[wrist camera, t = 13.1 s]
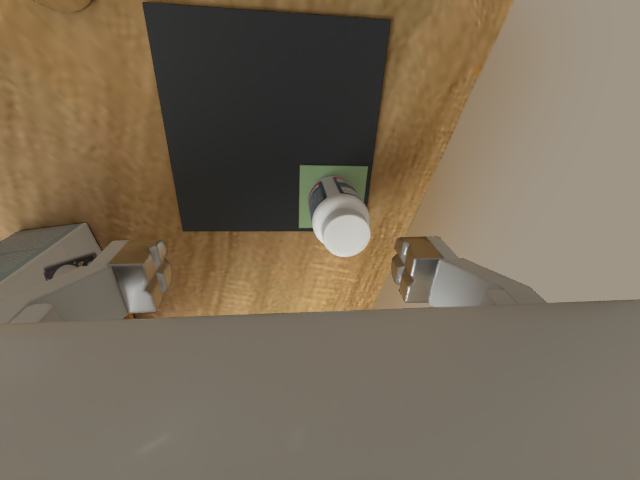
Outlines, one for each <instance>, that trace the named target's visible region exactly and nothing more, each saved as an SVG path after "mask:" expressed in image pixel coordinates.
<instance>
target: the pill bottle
mask: <svg viewBox="0 0 640 480" xmlns="http://www.w3.org/2000/svg"><path fill="white" fill-rule="evenodd" d="M308 207H309V212H310V217H311V222H312V227H313V230H314V233H315V235H316V237H317V238H318V239H319V240H320V241H321V242H322V243H323V244H325V246H326V248H327V249H328V250H329V251H330V252H331V253H332V254H334V255H337V256H340V257H349V256H353V255H356V254H358V253H360V252H361V251H362V250H363V249H364V248H365V247H366V246H367V244H368V243H369V240H370V236H371V231H370V227H369V222H370V217H369V212H368V210H367V207H366V205H365V204H364V202H363V201H362V199H361V197H360V196H359V194H358V193H357V191H356V189H355V188H354V186H353V185H352V184H351V183H350V182H349V181H348V180H346V179H345V178H342V177H339V176H328V177H325V178H322V179H320V180H319V181H317V182H316V183H315V184H314V185H313V186H312V188H311V190H310V192H309V195H308Z"/></svg>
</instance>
